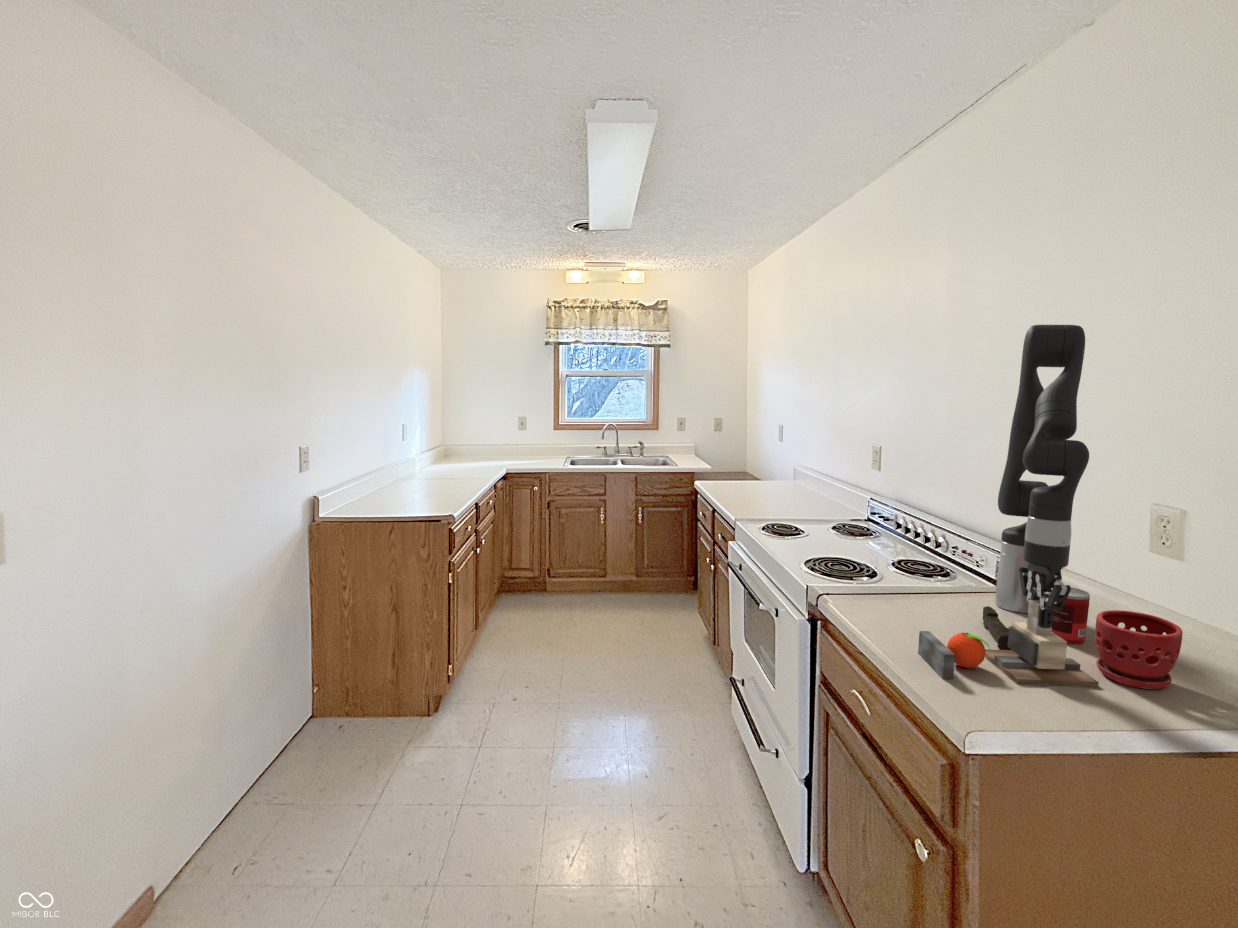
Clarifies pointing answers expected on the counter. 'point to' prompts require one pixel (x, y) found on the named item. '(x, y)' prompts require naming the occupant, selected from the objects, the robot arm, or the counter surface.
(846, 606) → the counter surface
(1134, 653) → the plant pot
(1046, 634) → the jaw
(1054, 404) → the robot arm
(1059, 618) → the canned food
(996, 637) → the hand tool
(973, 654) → the clementine
